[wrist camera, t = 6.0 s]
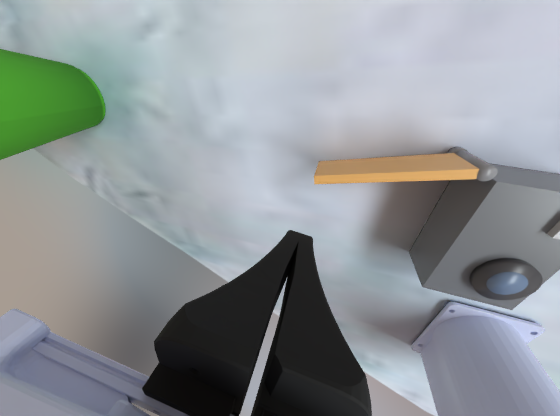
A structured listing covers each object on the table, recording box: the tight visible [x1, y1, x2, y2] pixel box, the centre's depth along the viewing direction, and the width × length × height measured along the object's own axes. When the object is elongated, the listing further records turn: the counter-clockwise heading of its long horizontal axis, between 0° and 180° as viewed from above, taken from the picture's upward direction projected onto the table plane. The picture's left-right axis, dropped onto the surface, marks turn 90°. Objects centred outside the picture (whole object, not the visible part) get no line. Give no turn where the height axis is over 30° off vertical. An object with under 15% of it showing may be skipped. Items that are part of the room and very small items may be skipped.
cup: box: [0, 49, 105, 160], centre depth 16 cm, size 9×9×11 cm
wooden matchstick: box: [314, 150, 498, 184], centre depth 14 cm, size 10×1×3 cm, turn 98°
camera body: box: [409, 147, 560, 310], centre depth 14 cm, size 10×7×5 cm
